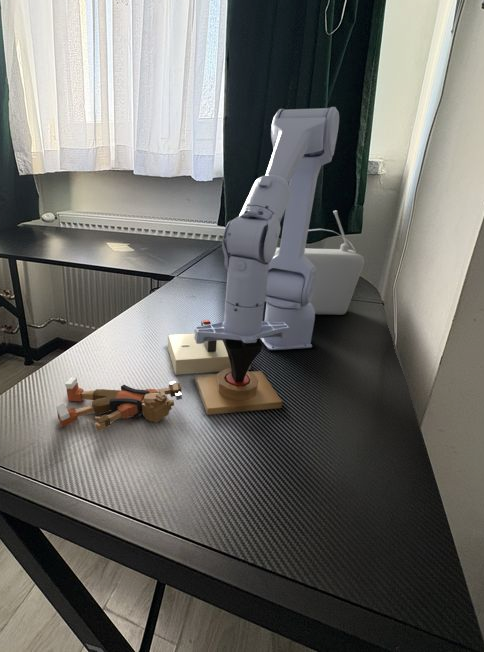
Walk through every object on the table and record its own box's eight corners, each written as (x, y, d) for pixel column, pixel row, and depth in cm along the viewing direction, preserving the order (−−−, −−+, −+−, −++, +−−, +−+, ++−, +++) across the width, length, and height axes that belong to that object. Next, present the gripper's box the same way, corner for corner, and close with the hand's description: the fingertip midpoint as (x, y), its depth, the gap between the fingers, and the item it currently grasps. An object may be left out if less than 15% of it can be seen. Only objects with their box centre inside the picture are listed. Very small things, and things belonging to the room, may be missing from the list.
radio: (342, 304, 100) (361, 209, 91) (354, 317, 93) (376, 214, 83) (259, 301, 101) (270, 206, 92) (265, 314, 93) (277, 211, 84)
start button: (243, 380, 63) (244, 371, 63) (250, 392, 60) (251, 383, 59) (223, 381, 63) (223, 373, 62) (229, 394, 60) (230, 385, 59)
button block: (260, 376, 67) (262, 361, 66) (281, 408, 59) (284, 392, 58) (194, 381, 65) (195, 366, 64) (206, 415, 57) (208, 398, 56)
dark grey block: (216, 351, 69) (217, 332, 67) (207, 352, 69) (208, 333, 67) (208, 336, 74) (209, 319, 73) (200, 337, 74) (201, 319, 73)
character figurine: (78, 365, 63) (184, 368, 59) (84, 390, 65) (187, 394, 61) (41, 410, 52) (167, 417, 48) (48, 439, 54) (171, 447, 50)
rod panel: (234, 343, 78) (235, 329, 77) (250, 369, 69) (252, 354, 68) (167, 347, 76) (167, 333, 75) (175, 375, 67) (175, 359, 66)
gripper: (203, 313, 51) (198, 396, 56) (303, 308, 53) (290, 389, 58) (192, 294, 57) (189, 371, 62) (282, 291, 60) (272, 365, 65)
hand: (237, 378), depth 61 cm, fingers closed, pressing on start button
